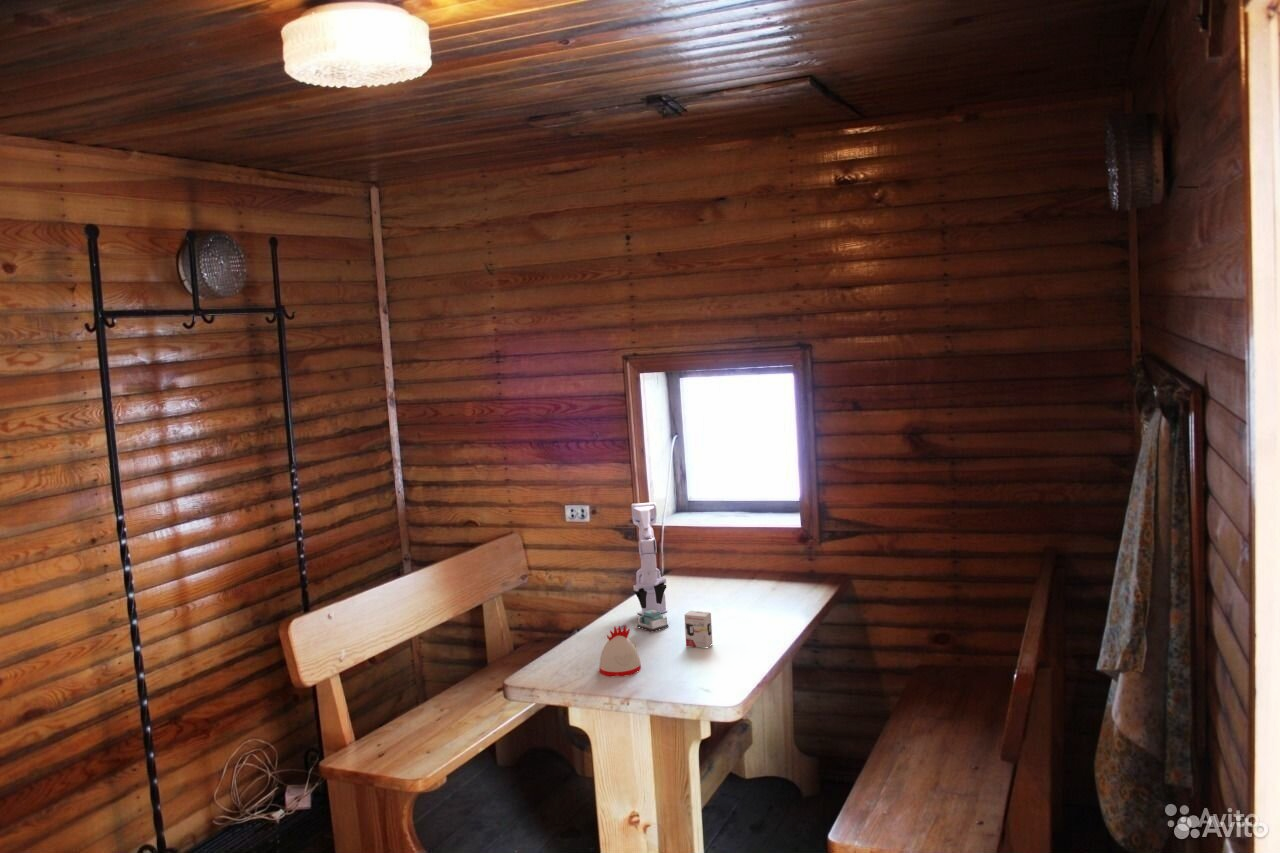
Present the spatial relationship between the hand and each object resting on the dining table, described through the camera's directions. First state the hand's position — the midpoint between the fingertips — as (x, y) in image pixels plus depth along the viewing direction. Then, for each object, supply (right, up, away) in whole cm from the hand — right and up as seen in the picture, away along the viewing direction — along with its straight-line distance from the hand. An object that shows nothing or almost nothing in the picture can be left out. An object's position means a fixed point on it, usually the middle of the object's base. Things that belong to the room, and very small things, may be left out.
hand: (651, 605), depth 386 cm
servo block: (0, -7, +1) cm, 7 cm away
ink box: (+17, -10, -25) cm, 31 cm away
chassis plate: (+1, -8, +1) cm, 8 cm away
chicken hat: (-11, -14, -44) cm, 48 cm away
